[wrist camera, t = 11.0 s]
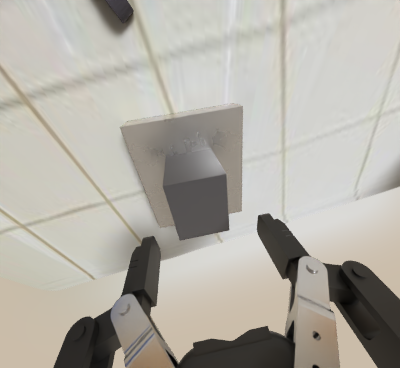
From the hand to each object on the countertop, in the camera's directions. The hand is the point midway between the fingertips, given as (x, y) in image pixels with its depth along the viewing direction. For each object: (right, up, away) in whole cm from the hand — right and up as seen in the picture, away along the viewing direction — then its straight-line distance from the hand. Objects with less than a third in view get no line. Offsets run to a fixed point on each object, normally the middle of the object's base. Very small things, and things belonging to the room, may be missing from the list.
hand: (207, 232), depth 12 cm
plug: (-2, +6, +9) cm, 10 cm away
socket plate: (-2, +6, +9) cm, 11 cm away
